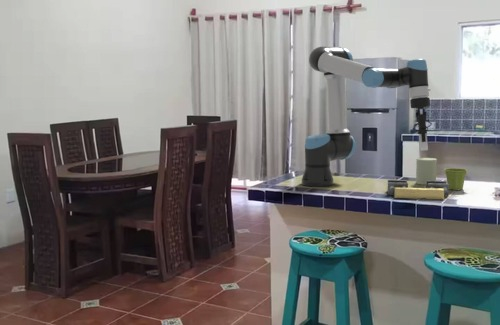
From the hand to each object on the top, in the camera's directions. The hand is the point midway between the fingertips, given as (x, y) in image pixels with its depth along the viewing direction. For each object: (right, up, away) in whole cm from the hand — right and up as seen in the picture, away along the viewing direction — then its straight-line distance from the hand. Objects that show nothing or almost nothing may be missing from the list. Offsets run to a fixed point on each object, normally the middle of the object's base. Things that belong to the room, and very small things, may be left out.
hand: (423, 150), depth 207 cm
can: (+12, -15, +33) cm, 38 cm away
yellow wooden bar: (-2, -20, 0) cm, 20 cm away
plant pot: (+20, -17, +17) cm, 31 cm away
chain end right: (+8, -18, +7) cm, 21 cm away
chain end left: (-8, -18, +10) cm, 22 cm away
